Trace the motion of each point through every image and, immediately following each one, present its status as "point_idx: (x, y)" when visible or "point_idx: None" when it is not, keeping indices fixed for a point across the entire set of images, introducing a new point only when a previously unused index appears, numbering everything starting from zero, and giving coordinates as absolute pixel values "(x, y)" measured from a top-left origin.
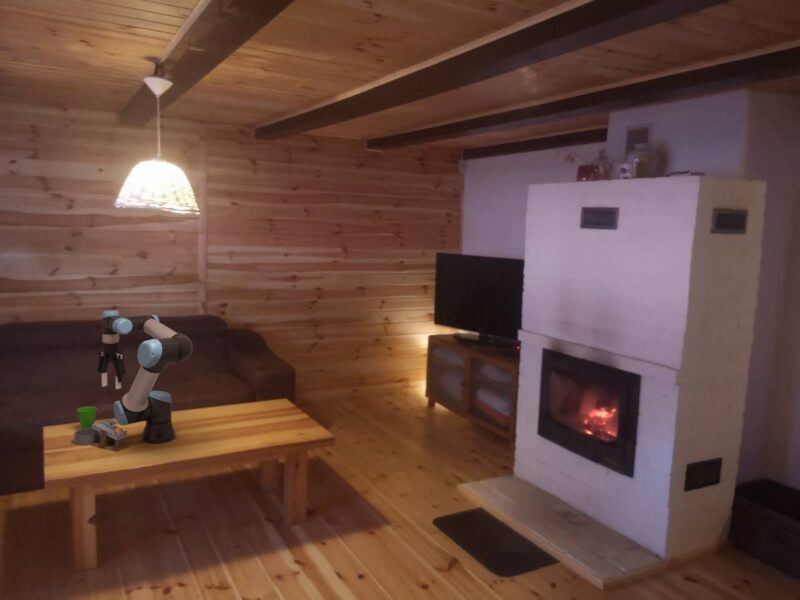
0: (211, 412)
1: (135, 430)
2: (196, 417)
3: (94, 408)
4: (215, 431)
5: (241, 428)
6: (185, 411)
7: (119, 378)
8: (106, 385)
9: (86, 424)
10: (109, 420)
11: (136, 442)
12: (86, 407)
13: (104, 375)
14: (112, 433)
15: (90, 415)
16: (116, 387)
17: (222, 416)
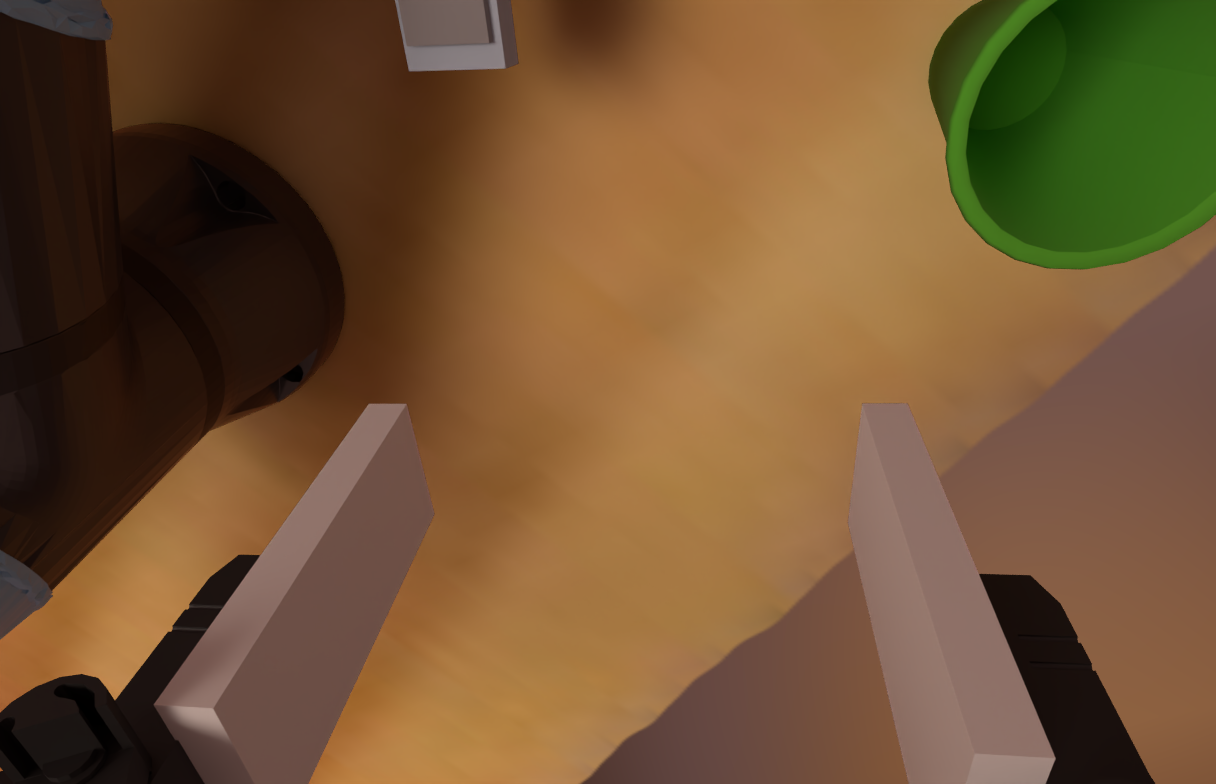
0: (450, 778)
1: (546, 319)
2: (438, 693)
3: (1054, 246)
4: (91, 555)
5: (50, 647)
6: (602, 747)
7: (151, 659)
8: (850, 506)
9: (981, 10)
10: (466, 5)
11: (235, 75)
12: (1204, 198)
13: (931, 725)
14: None
15: (967, 67)
16: (361, 429)
17: (333, 750)
